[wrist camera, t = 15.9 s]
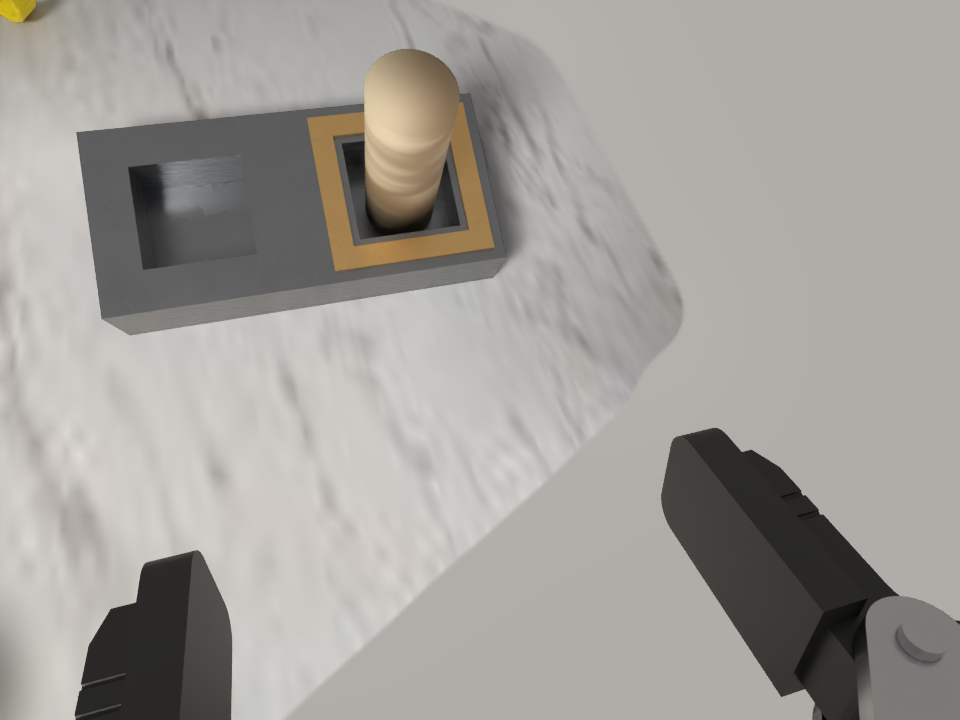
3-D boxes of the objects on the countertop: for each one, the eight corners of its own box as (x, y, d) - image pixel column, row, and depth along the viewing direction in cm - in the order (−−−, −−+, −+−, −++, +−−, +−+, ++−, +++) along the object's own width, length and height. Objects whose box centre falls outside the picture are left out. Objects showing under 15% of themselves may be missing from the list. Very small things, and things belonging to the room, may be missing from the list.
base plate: (129, 335, 36) (100, 318, 32) (106, 167, 38) (74, 130, 33) (492, 277, 40) (507, 255, 36) (460, 128, 42) (470, 91, 38)
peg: (372, 243, 38) (374, 141, 27) (359, 180, 39) (355, 53, 27) (438, 233, 39) (468, 130, 28) (425, 172, 40) (448, 45, 28)
